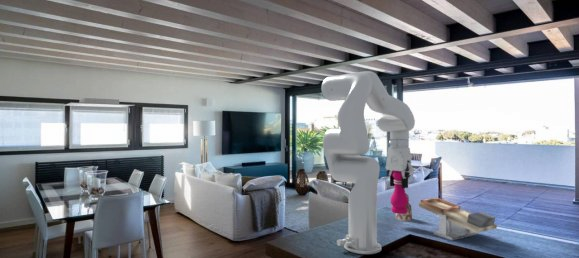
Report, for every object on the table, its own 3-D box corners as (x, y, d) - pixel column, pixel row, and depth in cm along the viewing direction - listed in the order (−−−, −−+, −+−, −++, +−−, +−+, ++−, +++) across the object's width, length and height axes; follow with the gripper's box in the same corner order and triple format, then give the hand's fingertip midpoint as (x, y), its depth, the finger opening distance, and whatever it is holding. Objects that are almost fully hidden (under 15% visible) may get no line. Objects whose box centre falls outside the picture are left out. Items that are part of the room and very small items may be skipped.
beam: (476, 232, 115) (478, 220, 115) (418, 206, 137) (420, 195, 137) (496, 228, 121) (498, 216, 120) (438, 203, 143) (439, 193, 142)
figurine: (396, 220, 149) (396, 193, 150) (395, 216, 156) (395, 191, 156) (413, 221, 148) (413, 194, 148) (410, 217, 155) (410, 191, 155)
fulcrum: (451, 240, 122) (451, 217, 122) (433, 234, 129) (433, 212, 129) (477, 234, 129) (477, 212, 129) (458, 229, 136) (458, 208, 136)
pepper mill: (405, 210, 143) (406, 164, 143) (410, 214, 136) (411, 166, 136) (388, 209, 144) (389, 163, 144) (392, 213, 137) (393, 165, 136)
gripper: (378, 143, 146) (377, 184, 145) (408, 144, 131) (408, 190, 130) (390, 143, 149) (390, 184, 149) (422, 144, 134) (421, 189, 134)
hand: (398, 186), depth 139 cm, fingers closed on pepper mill, 5 cm apart
